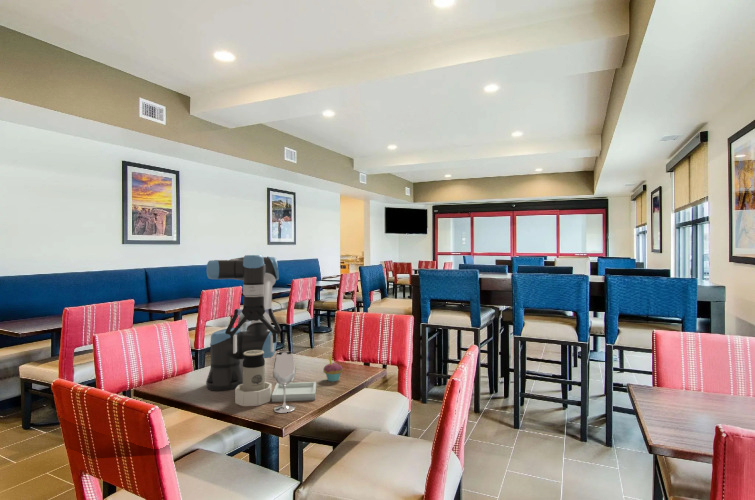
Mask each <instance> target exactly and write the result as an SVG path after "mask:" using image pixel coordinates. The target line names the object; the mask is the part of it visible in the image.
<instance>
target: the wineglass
mask: <svg viewBox="0 0 755 500" xmlns="http://www.w3.org/2000/svg"><path fill="white" fill-rule="evenodd" d="M272 371H273V372H272V375H273V376H272V377H273V379H274V381H275V382H276V383H278V384H280V385H282V386H283V401H282V402H283V403H282V404H279V405H277V406H275V407H273V411H274V412H275V413H278V414H285V413H286V414H288V413H291V412H294V411H295V410H296V406H295V405H293V404H287V401H285V392H286V385H288V384H289V383H293V381H294V380H295V377H296V371H297V370H296V364H295V359H294V355H293V352H292V351H290V350H289V351H287V350H286V351H285V350H283V351H282V350H281V351H277V352H276V354H275V359H274V363H273V370H272ZM287 412H288V413H287Z"/></svg>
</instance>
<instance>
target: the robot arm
mask: <svg viewBox="0 0 755 500" xmlns="http://www.w3.org/2000/svg"><path fill="white" fill-rule="evenodd" d="M278 265H279V263H278V260H277V258H276V257H274V256H263V255H262V254H261V255H260V254H256V255H254V254H252V255H251V254H246V255H244V256H243V257H242V256H241V257H237V258H230V259H214V260H213V259H212V260H208V262H207V263H206V276H207V278H208V279H209V280H237V281H242V282H243V283H242V286H243V287H242V290H243V291H242V293H243V294H242V295H243V297H242V298H243V300H242V301H243V303H242V309H239V308H238V307H237V308H235V309H234V311H233V316H232V318H231V320H230V322H229V323H228V326H227V328H223V329H220V330H216V331H214V332H213V333H212V334H211V335H210V342H209V346H210V368H209V371H208V374H207V378H206V381H205V388H206V389H207V390H209V391H214V392H216V391H217V392H219V391H223V392H224V391H231V390H235V389H236V388H237V386H238V385H240V384H243V371H242V370H241V367H240V360H241V359H244V358H245V357H244V354H243V353H244V352H246V351H250V350H262V351H264V353H263V358H264V359H271V358H272V357H273V356H274V355H275V353H276V349H277V348H276V347H277V341H278V334H280V333H281V332H282V328H281V326H280V324H279V322H278V320H277V318H276V316H275V315H274V311H273V310H274V309H273V307H272V301H273V286H274V285H275V284H276V281H279V279H280V276H279V275H280V273H279V266H278ZM241 314H243V316H244V317H243V318H242V319H241V320H240V321H239V323H238V324H237V325H236V326H235V327H234V324H235V323H236V321H237V320H238V316H240V315H241ZM247 320H248V322H250V324H249V325H247V327H246V329H245V330H242V331H241V327H242V326H243V325H244V323H245V322H246V321H247ZM271 322H272V323H271ZM273 325H274V326H273Z"/></svg>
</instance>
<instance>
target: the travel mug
mask: <svg viewBox="0 0 755 500" xmlns="http://www.w3.org/2000/svg"><path fill="white" fill-rule="evenodd" d="M263 353H264V351H262V350H250V351H246V352H244V353H243V354H244V357H245V358H244V360H243V371H242V373H243V391H244V392H250V391H260V390H263V389H265V382H266V378H265V377H266V375H265V374H266V373H265V372H266V363H265V361H266V359H265V358H263Z"/></svg>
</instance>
